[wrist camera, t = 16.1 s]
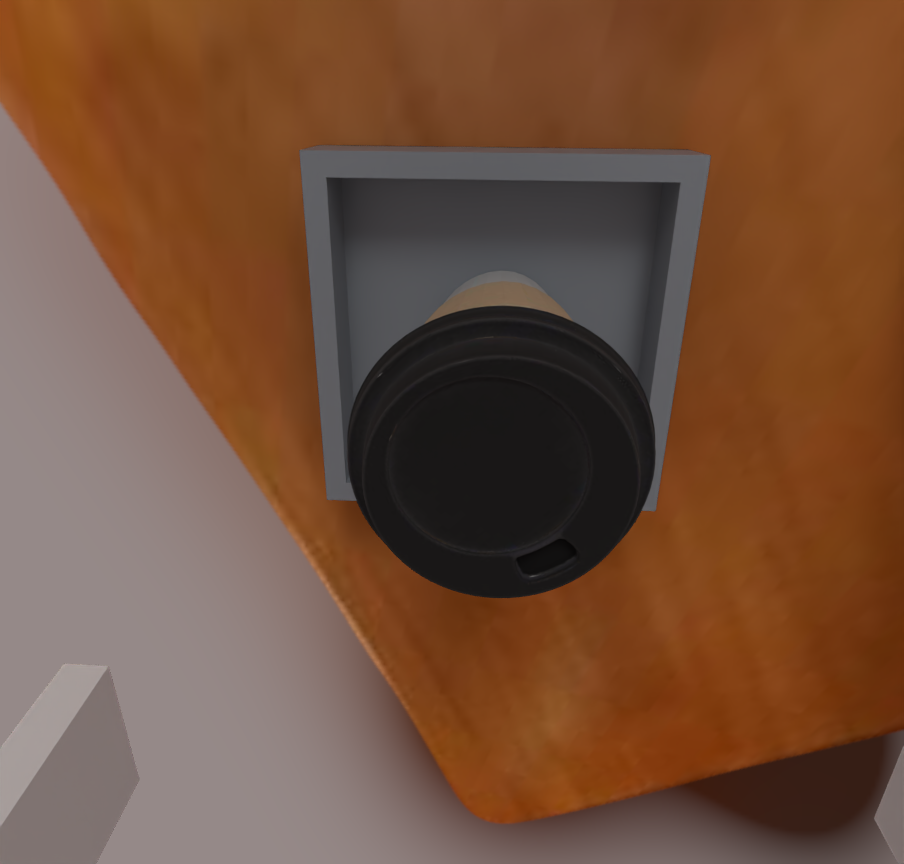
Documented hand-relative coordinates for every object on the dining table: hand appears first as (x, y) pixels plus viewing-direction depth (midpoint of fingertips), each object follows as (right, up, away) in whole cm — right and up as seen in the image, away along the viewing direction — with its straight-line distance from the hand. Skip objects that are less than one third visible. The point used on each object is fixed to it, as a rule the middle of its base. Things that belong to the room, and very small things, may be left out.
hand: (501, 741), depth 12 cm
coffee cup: (+1, +10, +22) cm, 24 cm away
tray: (+1, +10, +22) cm, 24 cm away
